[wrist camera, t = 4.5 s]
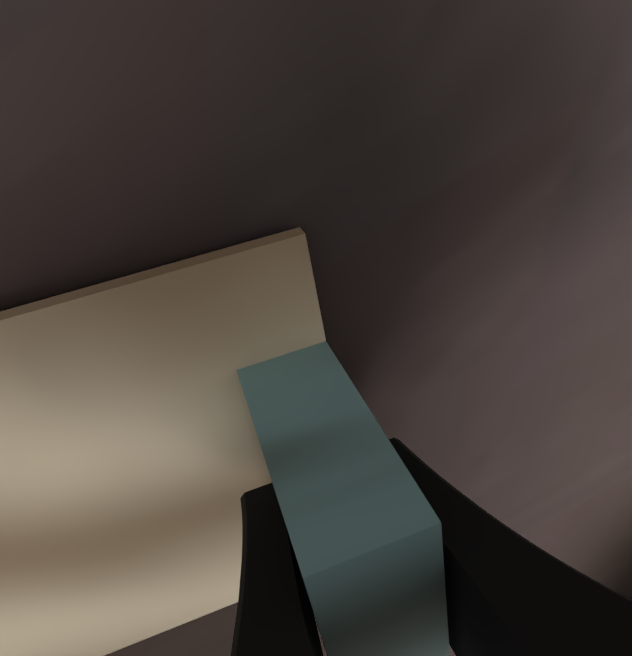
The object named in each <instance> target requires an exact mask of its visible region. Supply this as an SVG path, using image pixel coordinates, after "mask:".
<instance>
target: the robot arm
mask: <svg viewBox="0 0 632 656" xmlns="http://www.w3.org/2000/svg"><path fill="white" fill-rule="evenodd" d="M389 441H390V443H391V444H392V446H393V447H394V449H395V450H396V452H397V454H398V455H399V457H400V458H401V460H402V461H403V463H404V465H405V466H406V468H407V469H408V471H409V472H410V474H411V476H412V477H413V479H414V480H415V482H416V483H417V485H418V487H419V488H420V490H421V491H422V493H423V495H424V496H425V498H426V499H427V501H428V502H429V504H430V506H431V507H432V509H433V510H434V512H435V513H436V515H437V517H438V518H439V520H440V521H441V526H442V542H443V557H444V573H445V589H446V604H447V620H448V635H449V644H450V646H451V648H452V649H453V651H454V653H455V655H456V656H632V600H631V599H629V598H627V597H625V596H623V595H621V594H619V593H617V592H615V591H613V590H611V589H609V588H607V587H606V586H604V585H602V584H600V583H598V582H597V581H595V580H593V579H591V578H589V577H588V576H586V575H584V574H582V573H581V572H579V571H577V570H575V569H574V568H572V567H570V566H569V565H567V564H565V563H564V562H562V561H560V560H558V559H557V558H555V557H553V556H552V555H550V554H549V553H547V552H545V551H544V550H542V549H541V548H539V547H537V546H536V545H534V544H533V543H531V542H530V541H528V540H527V539H525V538H523V537H522V536H521V535H519V534H518V533H516V532H515V531H513V530H512V529H510V528H509V527H507V526H506V525H504V524H503V523H501V522H500V521H499V520H497V519H496V518H494V517H493V516H492V515H490V514H489V513H487V512H486V511H485V510H483V509H482V508H481V507H479V506H478V505H477V504H475V503H474V502H473V501H471V500H470V499H469V498H467V497H466V496H465V495H463V494H462V493H461V492H459V491H458V490H457V489H456V488H454V487H453V486H452V485H451V484H449V483H448V482H447V481H445V480H444V479H443V478H442V477H441V476H439V475H438V474H437V473H436V472H435V471H433V470H432V469H431V468H430V467H429V466H427V465H426V464H425V463H424V462H423V461H422V460H421V459H419V458H418V457H417V456H416V455H415V454H414V453H413V452H412V451H410V450H409V449H408V448H407V447H406V446H405V445H404V444H403V443H402V442H401V441H400V440H398V439H396V438H392V439H389ZM240 501H241V509H242V562H241V575H240V587H239V599H238V608H237V615H236V623H235V630H234V637H233V644H232V651H231V656H323V652H322V648H321V644H320V639H319V635H318V630H317V626H316V622H315V617H314V613H313V609H312V606H311V603H310V600H309V596H308V593H307V590H306V587H305V584H304V581H303V578H302V574H301V571H300V568H299V565H298V562H297V559H296V555H295V552H294V549H293V546H292V543H291V540H290V537H289V533H288V530H287V527H286V524H285V521H284V518H283V515H282V511H281V508H280V505H279V502H278V499H277V496H276V493H275V490H274V486H273V483H269V484H266V485H264V486H261V487H258V488H256V489H253V490H250V491H247V492H245V493H244V494H243V495H242V497H241V498H240Z"/></svg>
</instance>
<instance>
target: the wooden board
mask: <svg viewBox="0 0 632 656" xmlns="http://www.w3.org/2000/svg"><path fill="white" fill-rule="evenodd" d="M269 483H273V486H274V490H275V493H276V496H277V499H278V502H279V505H280V508H281V511H282V515H283V518H284V521H285V524H286V527H287V530H288V533H289V537H290V540H291V543H292V546H293V549H294V552H295V555H296V559H297V562H298V565H299V568H300V571H301V574H302V578H303V581H304V584H305V587H306V590H307V593H308V596H309V600H310V603H311V606H312V609H313V612H314V616H315V619H316V622H317V625H318V628H319V631H320V634H321V638H322V641H323V644H324V647H325V650H326V653H327V656H450V651H449V635H448V620H447V604H446V589H445V573H444V557H443V542H442V526H441V521H440V520H439V518H438V517H437V515H436V513H435V512H434V510H433V509H432V507H431V506H430V504H429V502H428V501H427V499H426V498H425V496H424V495H423V493H422V491H421V490H420V488H419V487H418V485H417V483H416V482H415V480H414V479H413V477H412V476H411V474H410V472H409V471H408V469H407V468H406V466H405V465H404V463H403V461H402V460H401V458H400V457H399V455H398V454H397V452H396V450H395V449H394V447H393V446H392V444H391V443H390V441H389V439H388V438H387V436H386V435H385V433H384V431H383V430H382V428H381V427H380V425H379V424H378V422H377V420H376V419H375V417H374V416H373V414H372V413H371V411H370V409H369V408H368V406H367V405H366V403H365V402H364V400H363V398H362V397H361V395H360V394H359V392H358V391H357V389H356V387H355V386H354V384H353V383H352V381H351V380H350V378H349V376H348V375H347V373H346V372H345V370H344V368H343V367H342V365H341V364H340V362H339V361H338V359H337V357H336V356H335V354H334V353H333V351H332V350H331V348H330V346H329V345H328V343H327V342H326V338H325V333H324V328H323V323H322V317H321V312H320V307H319V302H318V297H317V292H316V286H315V281H314V276H313V271H312V266H311V261H310V255H309V250H308V245H307V240H306V235H305V233H304V232H303V230H302V229H301V228H300V227H298V228H295V229H291V230H287V231H284V232H280V233H277V234H273V235H270V236H266V237H263V238H259V239H256V240H252V241H248V242H245V243H241V244H238V245H234V246H231V247H227V248H224V249H220V250H217V251H213V252H209V253H206V254H202V255H199V256H195V257H192V258H188V259H185V260H181V261H178V262H174V263H170V264H167V265H163V266H160V267H156V268H153V269H149V270H146V271H142V272H139V273H135V274H132V275H128V276H124V277H121V278H117V279H114V280H110V281H107V282H103V283H100V284H96V285H93V286H89V287H85V288H82V289H78V290H75V291H71V292H68V293H64V294H61V295H57V296H54V297H50V298H46V299H43V300H39V301H36V302H32V303H29V304H25V305H22V306H18V307H15V308H11V309H7V310H4V311H0V656H104V655H107V654H109V653H112V652H114V651H117V650H119V649H122V648H124V647H127V646H129V645H132V644H134V643H137V642H139V641H142V640H144V639H147V638H149V637H152V636H154V635H157V634H159V633H162V632H164V631H167V630H169V629H172V628H174V627H177V626H179V625H182V624H184V623H187V622H189V621H192V620H194V619H197V618H199V617H202V616H204V615H207V614H209V613H212V612H214V611H217V610H219V609H222V608H224V607H227V606H229V605H232V604H234V603H237V602H238V599H239V587H240V575H241V562H242V509H241V501H240V498H241V497H242V495H243V494H244V493H245V492H247V491H250V490H253V489H256V488H258V487H261V486H264V485H266V484H269Z"/></svg>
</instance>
